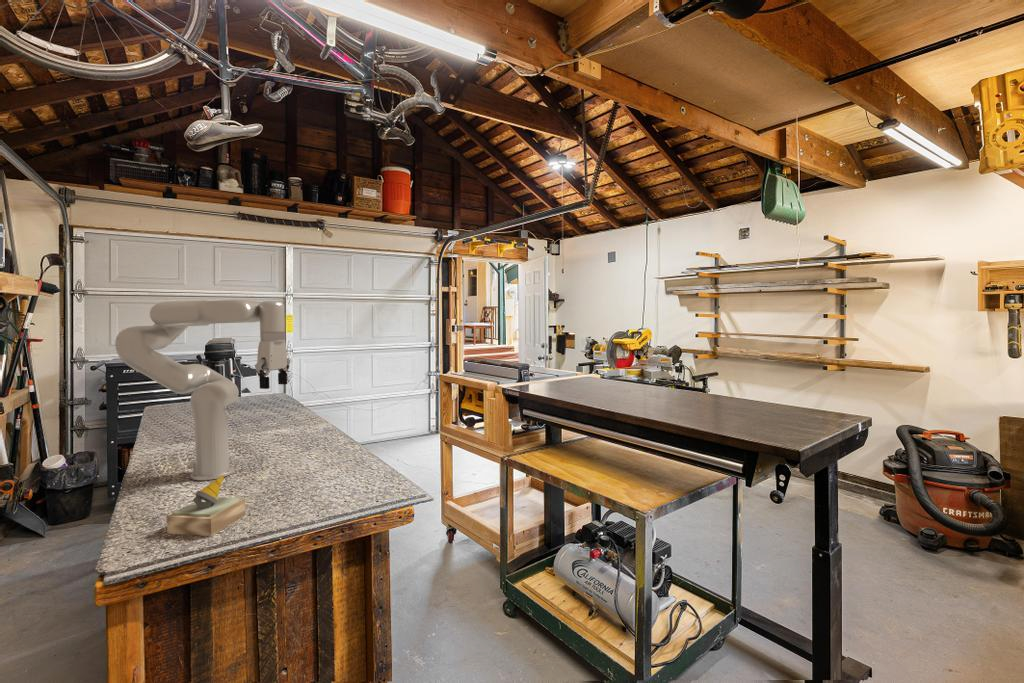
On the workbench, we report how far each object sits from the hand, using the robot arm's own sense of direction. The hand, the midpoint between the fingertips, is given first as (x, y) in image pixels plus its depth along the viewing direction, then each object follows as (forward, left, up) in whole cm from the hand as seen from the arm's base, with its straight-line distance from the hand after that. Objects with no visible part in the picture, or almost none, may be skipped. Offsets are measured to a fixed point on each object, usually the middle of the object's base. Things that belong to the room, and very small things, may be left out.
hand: (274, 386), depth 155 cm
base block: (+7, -39, -30) cm, 50 cm away
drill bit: (+7, -38, -26) cm, 46 cm away
